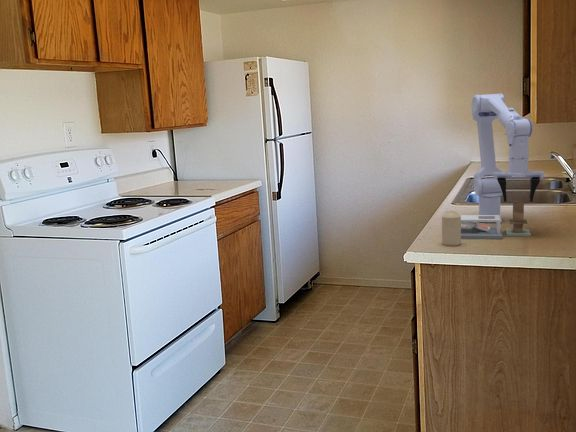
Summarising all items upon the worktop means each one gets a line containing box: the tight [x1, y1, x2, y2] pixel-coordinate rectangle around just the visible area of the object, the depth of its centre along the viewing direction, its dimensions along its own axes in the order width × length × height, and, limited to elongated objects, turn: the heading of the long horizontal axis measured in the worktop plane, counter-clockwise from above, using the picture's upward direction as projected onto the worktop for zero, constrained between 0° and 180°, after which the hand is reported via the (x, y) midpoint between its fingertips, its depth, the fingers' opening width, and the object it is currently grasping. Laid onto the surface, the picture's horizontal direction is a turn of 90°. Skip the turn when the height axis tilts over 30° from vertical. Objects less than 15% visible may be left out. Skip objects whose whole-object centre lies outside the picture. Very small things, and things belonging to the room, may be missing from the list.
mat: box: [505, 228, 532, 237], centre depth 193 cm, size 7×7×1 cm
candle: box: [441, 210, 462, 247], centre depth 184 cm, size 6×6×10 cm
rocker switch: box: [461, 222, 491, 232], centre depth 195 cm, size 4×9×1 cm, turn 73°
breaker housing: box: [459, 214, 504, 240], centre depth 196 cm, size 14×16×5 cm
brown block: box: [508, 200, 528, 233], centre depth 192 cm, size 5×5×10 cm
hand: (518, 201), depth 191 cm, fingers open, 7 cm apart
